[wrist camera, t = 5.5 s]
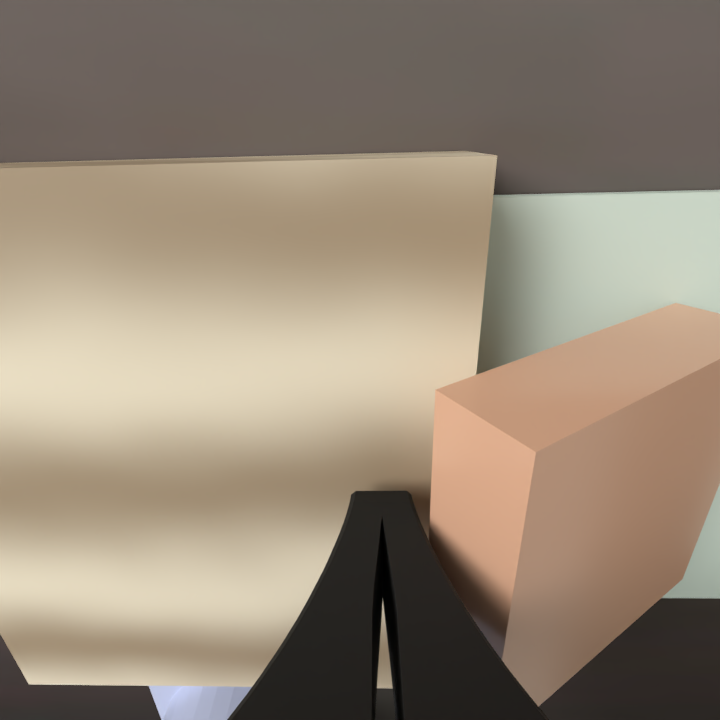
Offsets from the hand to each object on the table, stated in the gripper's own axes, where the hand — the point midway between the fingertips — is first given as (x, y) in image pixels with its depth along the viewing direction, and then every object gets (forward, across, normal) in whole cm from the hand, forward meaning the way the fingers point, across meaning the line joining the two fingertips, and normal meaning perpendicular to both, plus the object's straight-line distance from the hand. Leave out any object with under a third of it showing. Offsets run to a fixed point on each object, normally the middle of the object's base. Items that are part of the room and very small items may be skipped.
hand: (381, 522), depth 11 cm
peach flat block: (+1, -4, 0) cm, 5 cm away
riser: (+4, +5, 0) cm, 6 cm away
